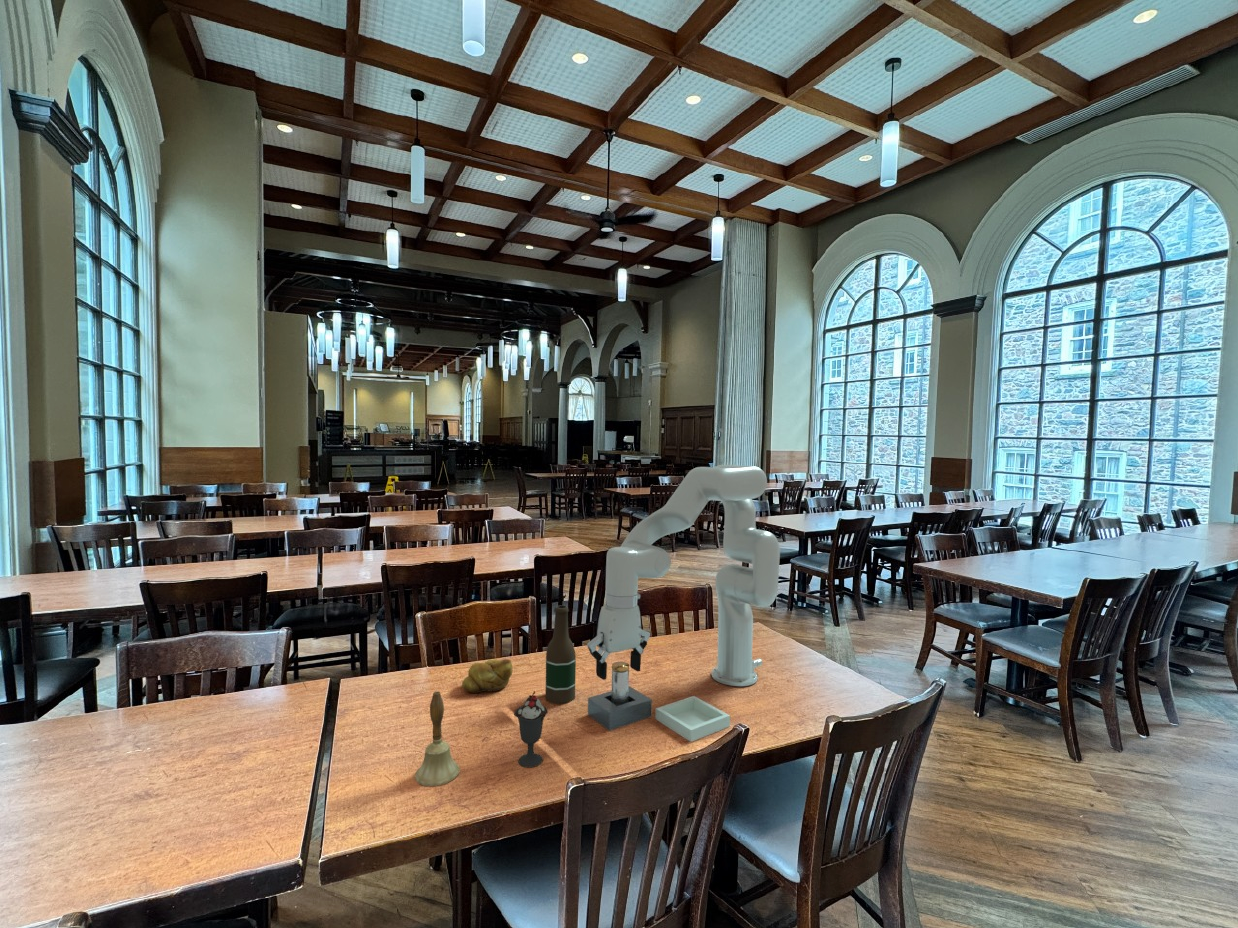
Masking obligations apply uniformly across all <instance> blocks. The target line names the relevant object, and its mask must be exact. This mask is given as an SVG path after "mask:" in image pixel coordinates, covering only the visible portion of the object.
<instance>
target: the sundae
mask: <svg viewBox="0 0 1238 928" xmlns="http://www.w3.org/2000/svg"><path fill="white" fill-rule="evenodd" d="M535 694H536V691H535V690H534V691H533V693H532V695H531V694H529V695H528V698H527V699H525V700H524V703H523V705H520V706H518V707H517V708H516V709H515V711H514V712H513V713H514V717H516V718H517V721H518V725H519V734H520V739H521V741H522V742H524V744H526V745H527V753H525V754H523V755H521V756H520V757H519V758H518V760H517V761H518V764H519V765H520V766H521V767H524V768H535V767H537V766H540V765H541V764H542V762H543V761H544V759H543V756H542V755H540V754H539V753H535V750H534V749H535V746H534V745H535V744H536V743H537V742H539V740H540V739H541V737H542V731H543V724H544V719H545V717H546V715H547V714H548V712H549V711H548V709H547V707H545V706H544V705H543V704H542V703H541V700H540V699H539V698H538V697H537V695H535Z"/></svg>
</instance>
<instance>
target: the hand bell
mask: <svg viewBox="0 0 1238 928" xmlns="http://www.w3.org/2000/svg"><path fill="white" fill-rule="evenodd" d="M444 708H445V706H444V701H443V697H442V695H441V692H440V691H434V692H433V693H432V698H431V700H430V705H429V717H430V720H431V722H432V723H431V724H432V742H431V743H429V744H427V746H426V747H425V750H424V757H423V760H422V761H423V762H422V764H421V765H420V766H419V767H418V769H417V770H416V772H415V773H414V780H415V782H416V783H417V784H419V785H420V786H424V787H437V786H442V785H445V784H448V783H450V782H451V781H453V780H455V779H456V778H457V776H459V773H460V771H461V770H460V769H461V768H460V766H459V764H458V763H457V762H456V760H454V759H453V757H452V755H451V754H452V753H451V750H450V749H451V748H450V744H449V742H447V741H444V740H443V735H442V722H443V719H444V715H445V714H444V711H445V709H444Z"/></svg>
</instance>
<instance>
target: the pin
mask: <svg viewBox="0 0 1238 928" xmlns="http://www.w3.org/2000/svg"><path fill="white" fill-rule="evenodd" d="M629 681H630V664H629V663H628V662H625V661H615V662H613V663H611V691H612V694H611V702H612V703H613V704H615V705H616V706H619V705H622V704H625V703H628V694H629V686H630V685H629V683H630V682H629Z"/></svg>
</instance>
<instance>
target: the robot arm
mask: <svg viewBox="0 0 1238 928" xmlns="http://www.w3.org/2000/svg"><path fill="white" fill-rule="evenodd" d="M767 485H768V479H767V475H766V473H765V471H764V470H763V469H761V468H760V467H758V466H755V465H753V466H752V465H739V464H719V465H716V466H714V467H713V466H711V467H710V466H697V467H695V468H693V469H691V470H689V472H687V474H686V475H685V477H684V478H683V479H682V481H681V482H680V483H679V485H678V486H677V488H676V489H675V491H674V492H673V494H672V495H671V496H670V497H669V499H668V500H667V502H666V504H665V505H664V506H662V507H661V508H660V509H658V510H656V511H654V512H652V513H650V515H648V516H647V517H645V518H644V519H642V520H640V521H639V522H638V523H637V524H636V525H635V526H634V527H633V528H632V530H631V531H630V532H629V533H628V535H627V536H626V537H625V538H624V540H623V541H622V543H621V545H620V546H615V547H611V548H609V549H608V550H607V552H606V564H605V565H606V566H605V595H604V596H605V597H604V598H605V599H604V605H603V606H601V607H600V608H601V609H600V612H599V616H598V622H597V630H596V636H595V637H594V638H592V639H591V640H590V641H588V642H587V644H586V647H587V649H588V651H589V654H590V655H591V656H592V657H593V658H594V660H596V661H595V664H596V665H595V674H596V677H598V678H599V679H601V680H603V681H605V680H607V678H608V677H607V675H608V671H607V670H608V663H607V662H606V660H607V658H608V657H609V655H610V654H612V653H613V654H614V653H618V652H623V651H628V650H631V649H632V650H631V651H630V664H629V668H631V669H632V670H634V671H637V672H640V671H641V665H642V660H641V659H642V654H644V649H645V648H646V647H647V645H648V641H649V639H650V636H651V632H649V631H647V630H645V629H643V628H642V622H641V619H642V618H641V611H640V606H639V605H638V600H640V599H641V594H640V593H638V589H639V587H638V585H639V579H659V578H661V577H664V576H665V575H666V574H667V573H668V572H669V571H670V568H671V564H672V561H671V560H672V559H671V556H670V554H669V553H668V552H667V551H666V550H665V549H664V548H662V547H659V546H655V545H653V544H654V543H655V542H656V541H658V540H659V539H661V538H663V537H665V536H667V535H668V536H669V535H671V534H675V533H679V532H681V531H682V532H683V531H685V530H686V529H689V528H691V527H692V526H693V525H694V523H695V521H696V520H697V519H698V517H699V516H700V514H701V513H702V511H703V510H704V508H705V507H706V505H708V502H710V501H716V502H717V501H719V502H721V503H722V505H723V509H724V510H723V511H724V527H723V528H724V529H723V542H722V543H723V544H722V545H723V547H722V548H723V552H724V554H725V556H726V557H727V558H728V559H730V560H732V561H733V560H734V561H736V562H741V563H746V564H750V565H752V568H751V567H747V566H742V565H737V564H727V565H723V566H722V567H720V569H719V570H718V571H717V573H716V575H715V583H714V584H715V591H716V596H717V603H718V604H717V607H718V609H717V610H718V619H717V620H718V621H717V622H718V623H717V625H718V626H717V666H716V667H714V668H713V669H711V677H712V679H713V680H714V681H716V682H718V683H720V684H722V685H726V686H731V687H748V686H749V687H750V686H752V685H754V684H755V683H757V681H758V674H757V672H755V669H756V668H758V667H761V666H762V665H763V660H762V659H761V658H757V659H754V660H753V637H754V636H753V635H754V634H753V633H754V630H753V629H754V628H753V627H754V617H753V610H752V607H751V606H754V607H757V608H758V607H760V608H768V607H770V606H771V605H772V604H773V603H774V601H775V600H776V598H777V595H778V589H779V588H778V585H779V573H780V559H781V549H780V544H779V540H778V538H777V536H776V535H775V534H774V533H772V532H770V531H767V530H763V529H757V527H756V513H757V511H756V506H755V503H754V501H753V499H757V498H760V497H761V496H762V495H763V494H764V492H765V491H766V489H767ZM597 648H598V649H597Z"/></svg>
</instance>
